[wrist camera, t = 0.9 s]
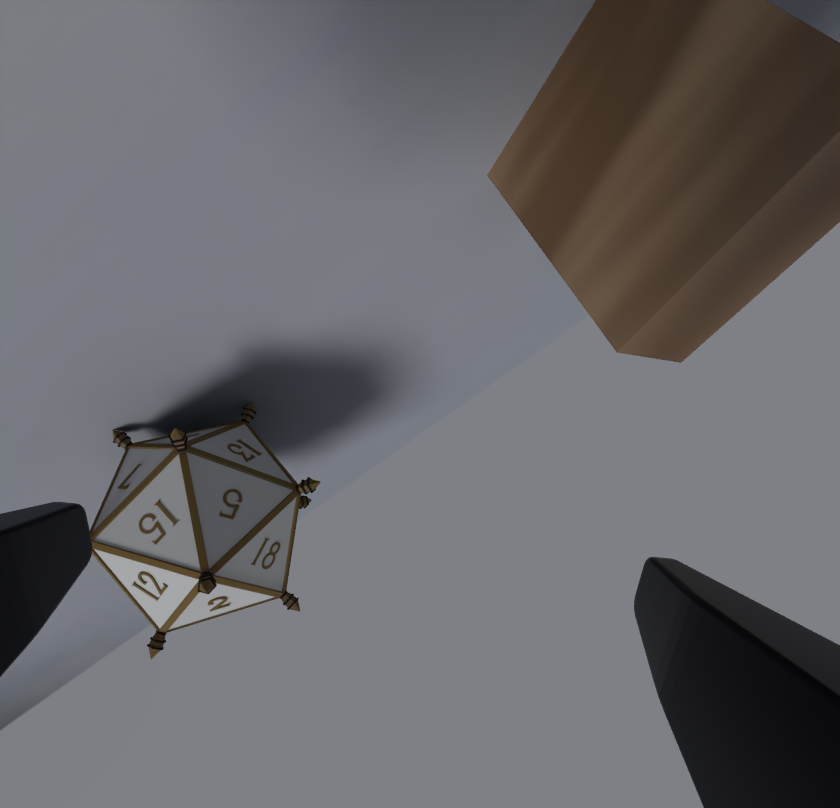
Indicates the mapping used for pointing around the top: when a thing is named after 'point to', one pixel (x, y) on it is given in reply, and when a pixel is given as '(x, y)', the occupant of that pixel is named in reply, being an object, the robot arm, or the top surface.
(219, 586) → the game die
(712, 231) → the walnut block
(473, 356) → the top surface
